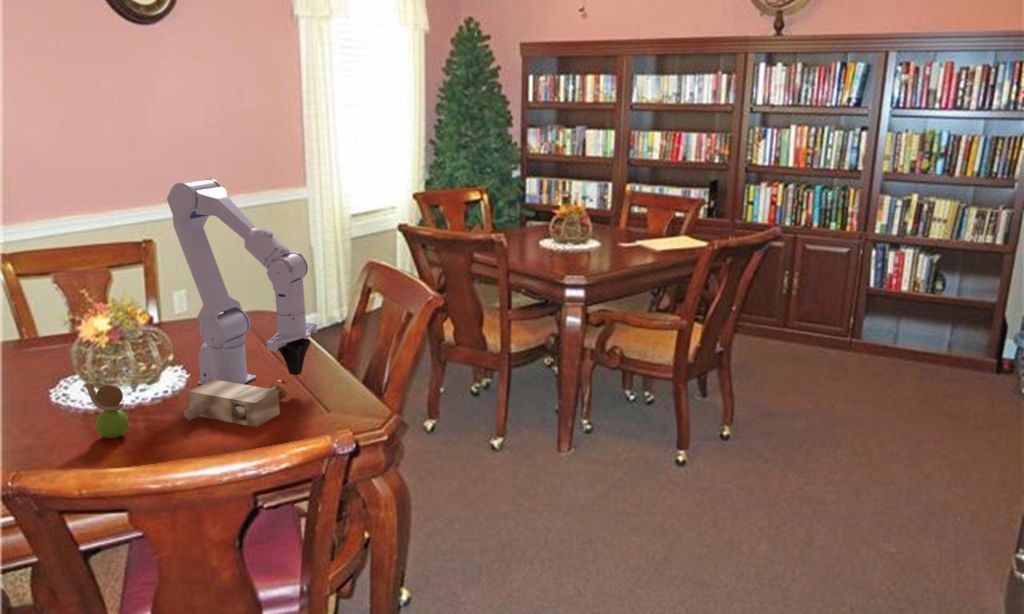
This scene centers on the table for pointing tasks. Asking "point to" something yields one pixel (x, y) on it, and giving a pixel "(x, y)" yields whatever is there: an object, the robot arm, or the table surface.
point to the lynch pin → (276, 385)
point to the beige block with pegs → (232, 402)
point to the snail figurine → (108, 410)
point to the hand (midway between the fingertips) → (295, 373)
